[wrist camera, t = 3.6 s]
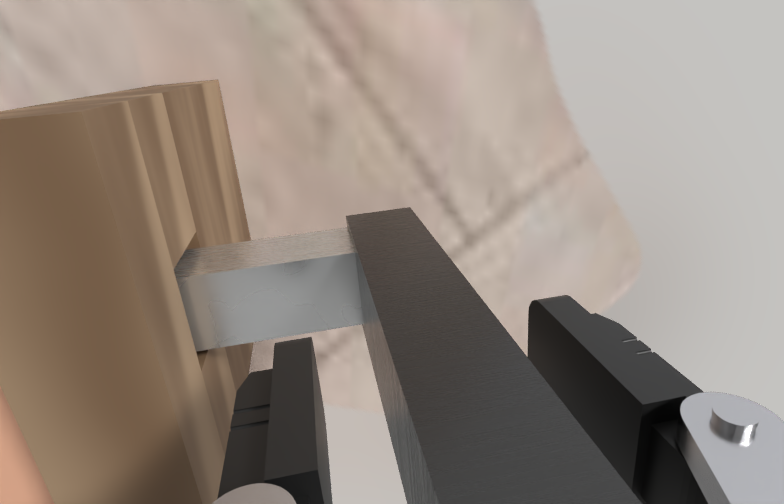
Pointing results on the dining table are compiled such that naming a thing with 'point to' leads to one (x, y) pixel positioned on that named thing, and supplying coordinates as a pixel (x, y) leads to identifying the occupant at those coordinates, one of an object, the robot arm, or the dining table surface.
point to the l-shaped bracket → (409, 357)
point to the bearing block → (117, 291)
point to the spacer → (18, 464)
